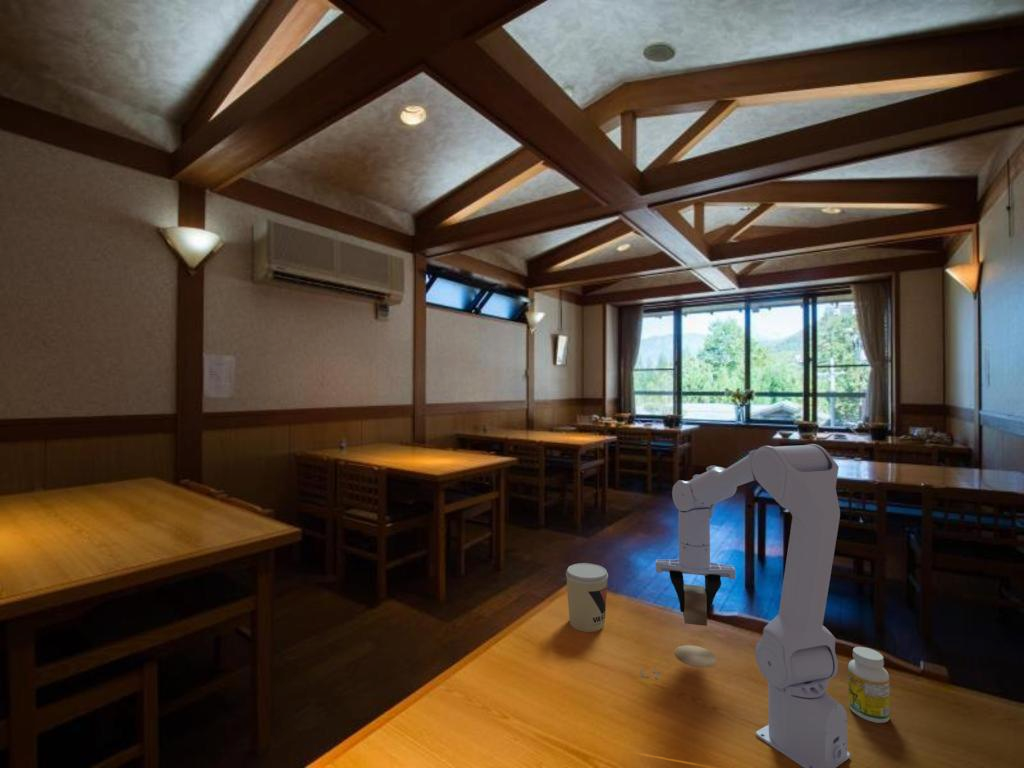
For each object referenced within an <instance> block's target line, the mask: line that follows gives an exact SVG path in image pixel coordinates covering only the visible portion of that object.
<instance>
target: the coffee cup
mask: <svg viewBox="0 0 1024 768" xmlns="http://www.w3.org/2000/svg"><path fill="white" fill-rule="evenodd" d="M565 571H566V572H565V576H566V591H567V602H568V603H567V604H568V615H569V617H568V618H569V624H570V626H571V627H572V628H573V627H574V629H575V630H577V629H578V631H579V632H587V633H592V632H593V631H594V632H597V631H598V630H599V631H600V629H601V630H603V628H605V623H606V610H607V607H606V606H607V595H608V579H609V574H608V573H609V572H608V571H607V569H606V568H605V567H603V566H601V565H599V564H594V563H588V562H582V563H575V564H571V565H569V566H568V567H567V569H566V570H565Z"/></svg>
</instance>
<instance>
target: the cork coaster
mask: <svg viewBox="0 0 1024 768" xmlns="http://www.w3.org/2000/svg"><path fill="white" fill-rule="evenodd" d="M674 655H675V657H676V658H677V659H678V660H679V661H680V662H682V663H684V664H686V665H688V666H691V667H696V668H707V667H712V666H714V665H715V664H716V662H717V658H716V656H715V654H714V653H713V652H712V651H709V650H708V649H706V648H705V647H701V646H698V645H692V644H687V645H685V644H684V645H680V646H678V647H677V648H675V650H674Z"/></svg>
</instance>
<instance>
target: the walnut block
mask: <svg viewBox="0 0 1024 768" xmlns="http://www.w3.org/2000/svg"><path fill="white" fill-rule="evenodd" d="M682 615H683V621H684V624H685V625H687V624H689V625H696V626H704V627H707V626H708V615H707V594H706V591H705V585H697V584H696V585H695V584H686V583H684V612H682Z"/></svg>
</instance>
